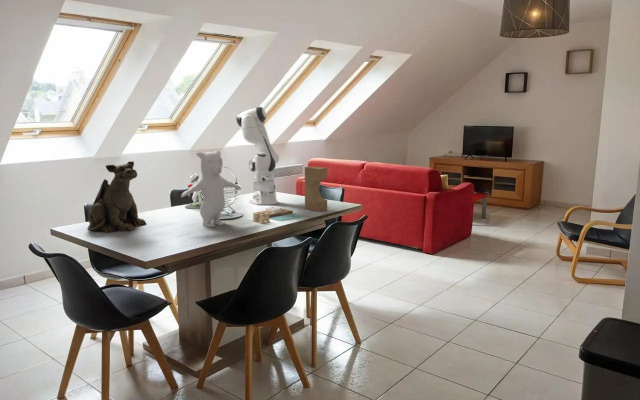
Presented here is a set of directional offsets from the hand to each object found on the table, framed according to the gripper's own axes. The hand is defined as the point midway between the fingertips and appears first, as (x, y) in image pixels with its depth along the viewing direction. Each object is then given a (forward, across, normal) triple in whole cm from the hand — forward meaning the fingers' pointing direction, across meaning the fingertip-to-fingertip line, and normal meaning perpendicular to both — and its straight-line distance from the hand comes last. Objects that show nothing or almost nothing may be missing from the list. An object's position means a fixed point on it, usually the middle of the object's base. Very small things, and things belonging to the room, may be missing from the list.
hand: (263, 197), depth 349 cm
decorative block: (+12, +16, +33) cm, 38 cm away
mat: (+11, +23, +1) cm, 26 cm away
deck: (+11, +10, 0) cm, 15 cm away
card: (+9, +10, 0) cm, 13 cm away
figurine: (+8, -49, -25) cm, 56 cm away
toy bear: (+10, +11, -46) cm, 48 cm away
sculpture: (+8, -20, -92) cm, 95 cm away
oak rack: (+11, +23, -19) cm, 32 cm away
